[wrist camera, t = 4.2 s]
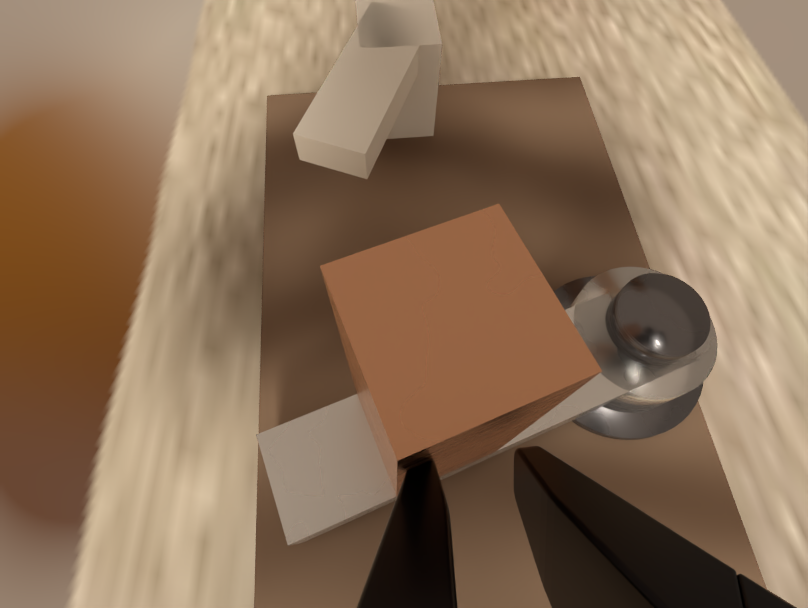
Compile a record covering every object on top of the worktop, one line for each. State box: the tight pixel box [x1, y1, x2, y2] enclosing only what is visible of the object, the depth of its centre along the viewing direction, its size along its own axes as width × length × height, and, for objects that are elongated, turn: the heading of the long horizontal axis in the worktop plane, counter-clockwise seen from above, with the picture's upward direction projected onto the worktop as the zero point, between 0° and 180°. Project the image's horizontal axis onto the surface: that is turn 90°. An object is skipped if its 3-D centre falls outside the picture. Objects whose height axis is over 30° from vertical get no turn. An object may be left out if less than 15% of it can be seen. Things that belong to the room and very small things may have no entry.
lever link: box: [256, 204, 717, 545], centre depth 12 cm, size 4×14×10 cm, turn 113°
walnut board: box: [254, 77, 767, 608], centre depth 18 cm, size 24×15×1 cm, turn 6°
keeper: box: [293, 0, 442, 179], centre depth 19 cm, size 8×5×4 cm
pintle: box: [554, 273, 711, 440], centre depth 15 cm, size 6×6×4 cm
